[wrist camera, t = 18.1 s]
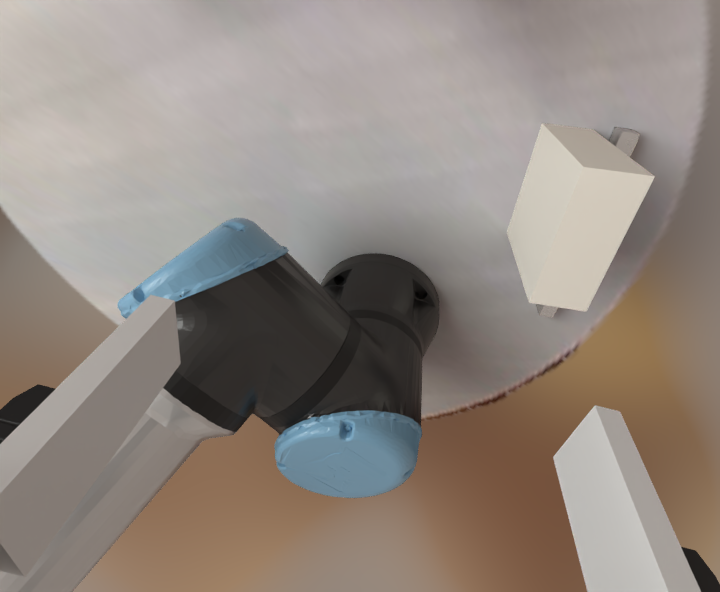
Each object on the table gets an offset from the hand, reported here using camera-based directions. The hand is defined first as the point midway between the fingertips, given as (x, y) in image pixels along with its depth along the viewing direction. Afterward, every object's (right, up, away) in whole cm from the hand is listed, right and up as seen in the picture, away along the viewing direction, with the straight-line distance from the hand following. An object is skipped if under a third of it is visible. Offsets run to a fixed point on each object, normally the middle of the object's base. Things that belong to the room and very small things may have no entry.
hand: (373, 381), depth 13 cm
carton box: (+18, +14, +27) cm, 35 cm away
